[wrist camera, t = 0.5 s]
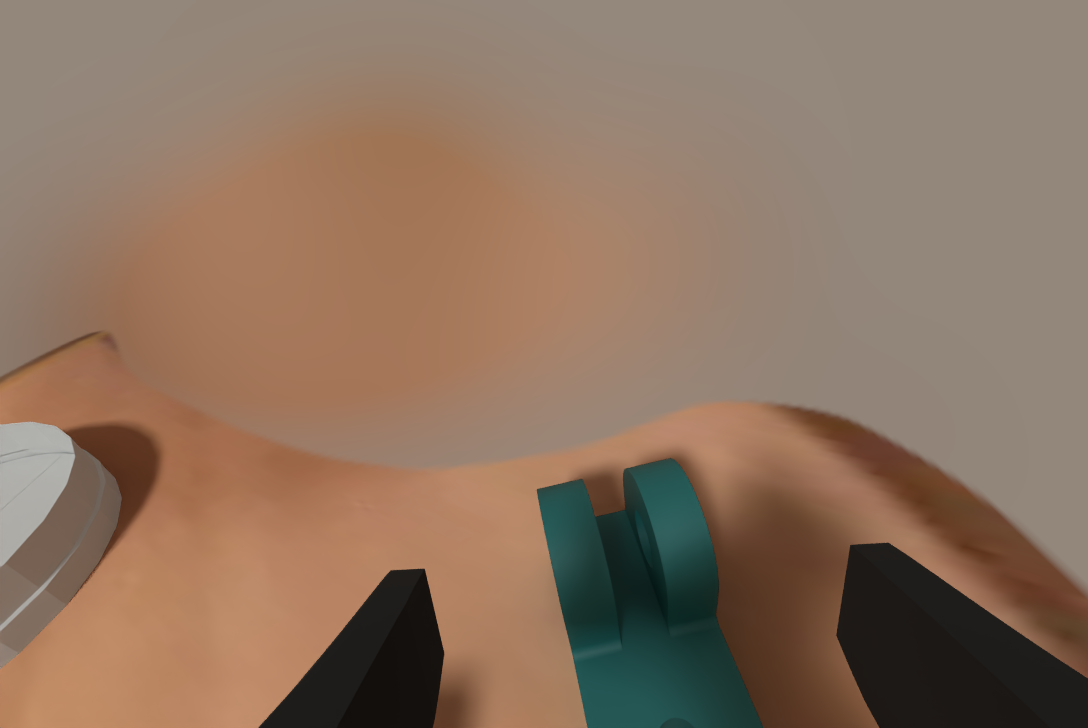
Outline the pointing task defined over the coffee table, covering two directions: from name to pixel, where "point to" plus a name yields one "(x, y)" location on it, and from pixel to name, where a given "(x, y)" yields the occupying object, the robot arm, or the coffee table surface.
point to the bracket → (644, 605)
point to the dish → (47, 527)
